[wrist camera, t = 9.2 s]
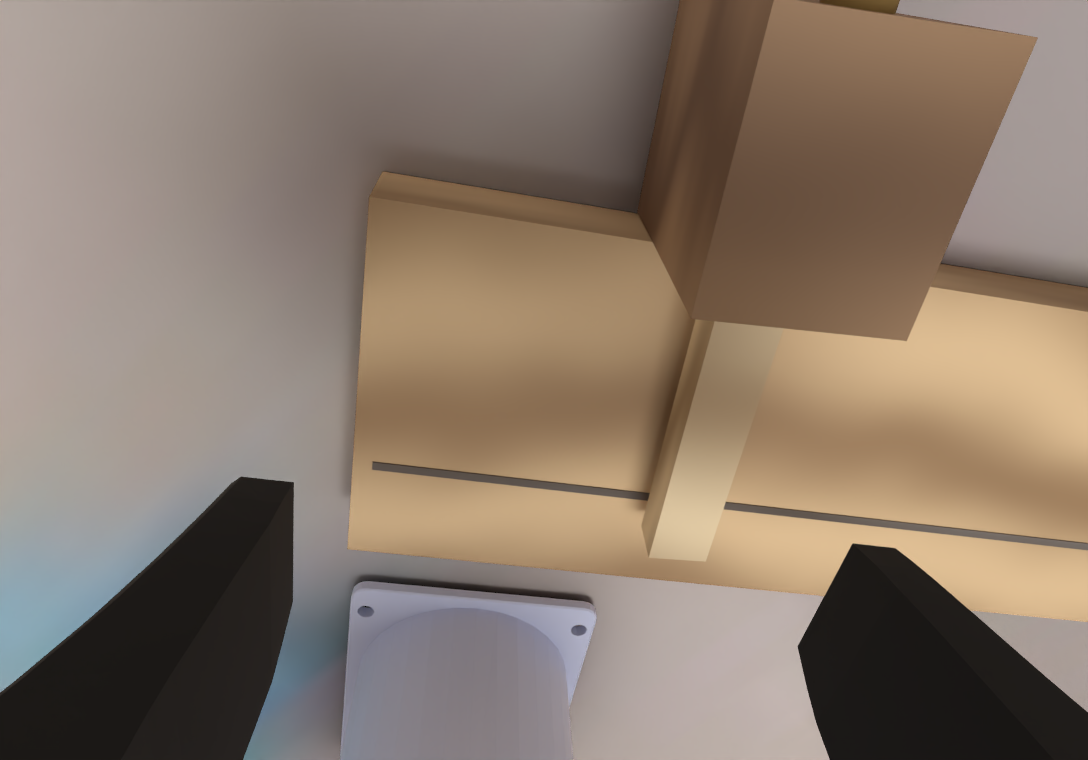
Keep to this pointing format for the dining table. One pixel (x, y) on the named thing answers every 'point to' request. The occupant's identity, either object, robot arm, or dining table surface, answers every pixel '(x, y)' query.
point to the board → (647, 399)
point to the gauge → (801, 202)
